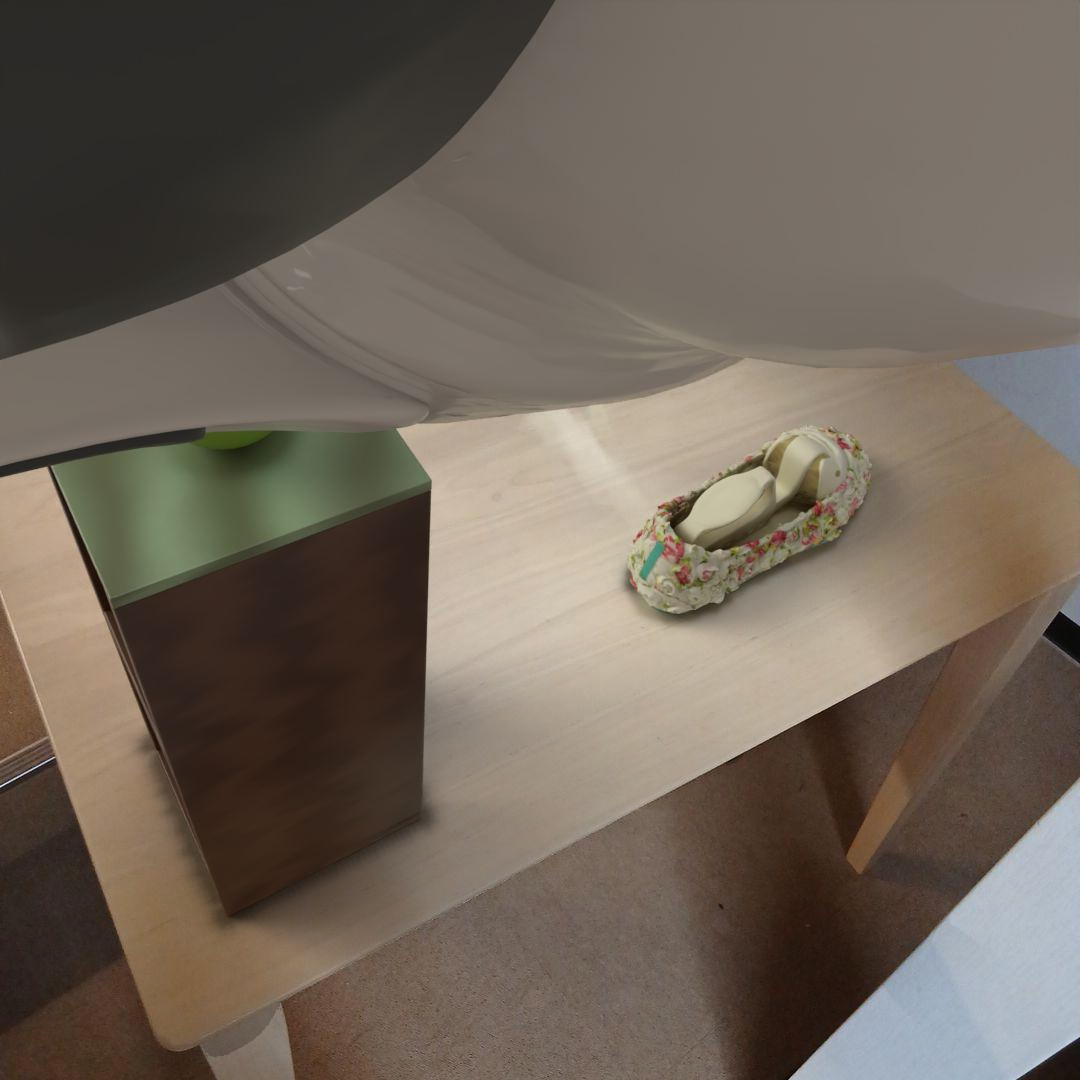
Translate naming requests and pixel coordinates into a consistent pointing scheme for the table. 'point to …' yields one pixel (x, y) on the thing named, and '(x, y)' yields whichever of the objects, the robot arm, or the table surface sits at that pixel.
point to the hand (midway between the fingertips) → (262, 263)
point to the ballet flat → (749, 518)
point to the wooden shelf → (269, 637)
